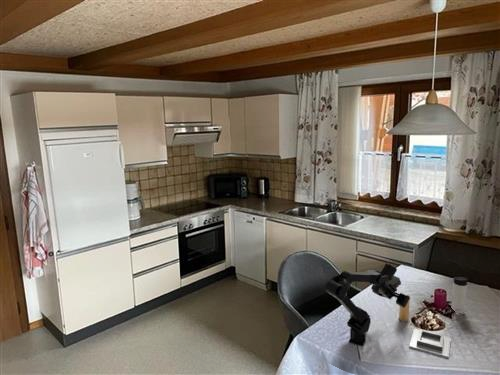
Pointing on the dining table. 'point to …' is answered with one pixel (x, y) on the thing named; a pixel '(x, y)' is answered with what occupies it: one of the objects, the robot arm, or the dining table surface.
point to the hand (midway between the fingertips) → (397, 301)
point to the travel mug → (459, 295)
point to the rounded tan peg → (404, 312)
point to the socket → (430, 342)
